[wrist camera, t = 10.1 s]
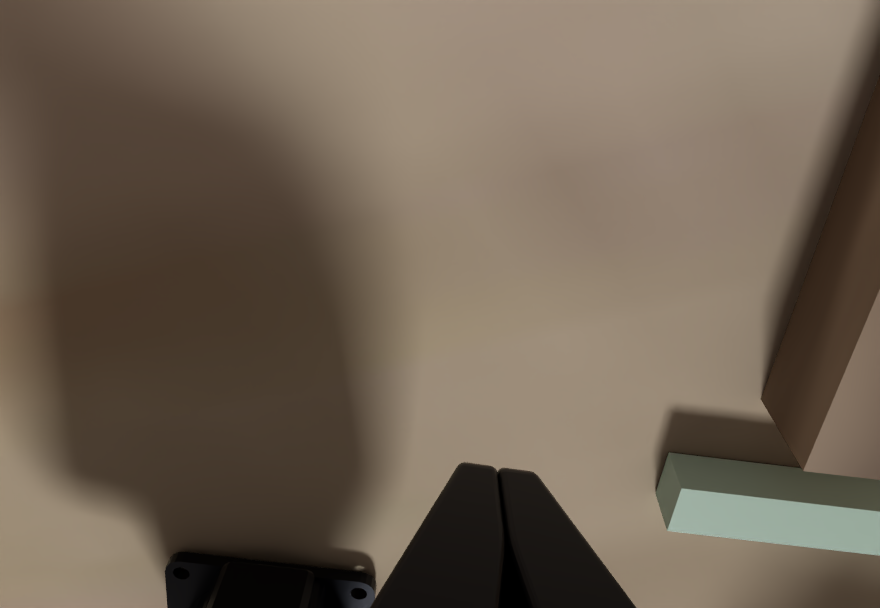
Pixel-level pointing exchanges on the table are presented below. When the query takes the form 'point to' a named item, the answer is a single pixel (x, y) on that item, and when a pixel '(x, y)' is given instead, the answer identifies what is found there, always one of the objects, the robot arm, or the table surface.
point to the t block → (837, 330)
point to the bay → (769, 504)
